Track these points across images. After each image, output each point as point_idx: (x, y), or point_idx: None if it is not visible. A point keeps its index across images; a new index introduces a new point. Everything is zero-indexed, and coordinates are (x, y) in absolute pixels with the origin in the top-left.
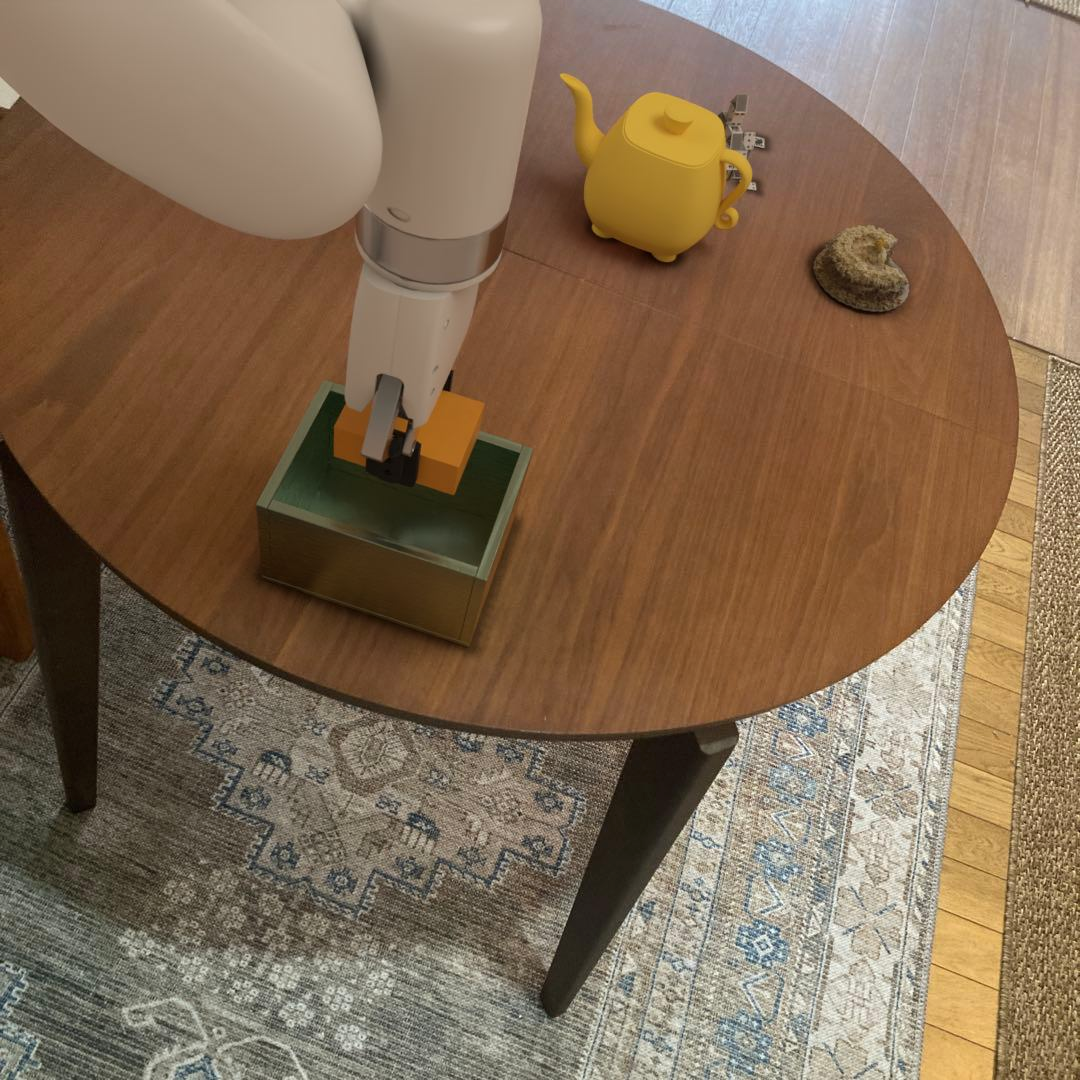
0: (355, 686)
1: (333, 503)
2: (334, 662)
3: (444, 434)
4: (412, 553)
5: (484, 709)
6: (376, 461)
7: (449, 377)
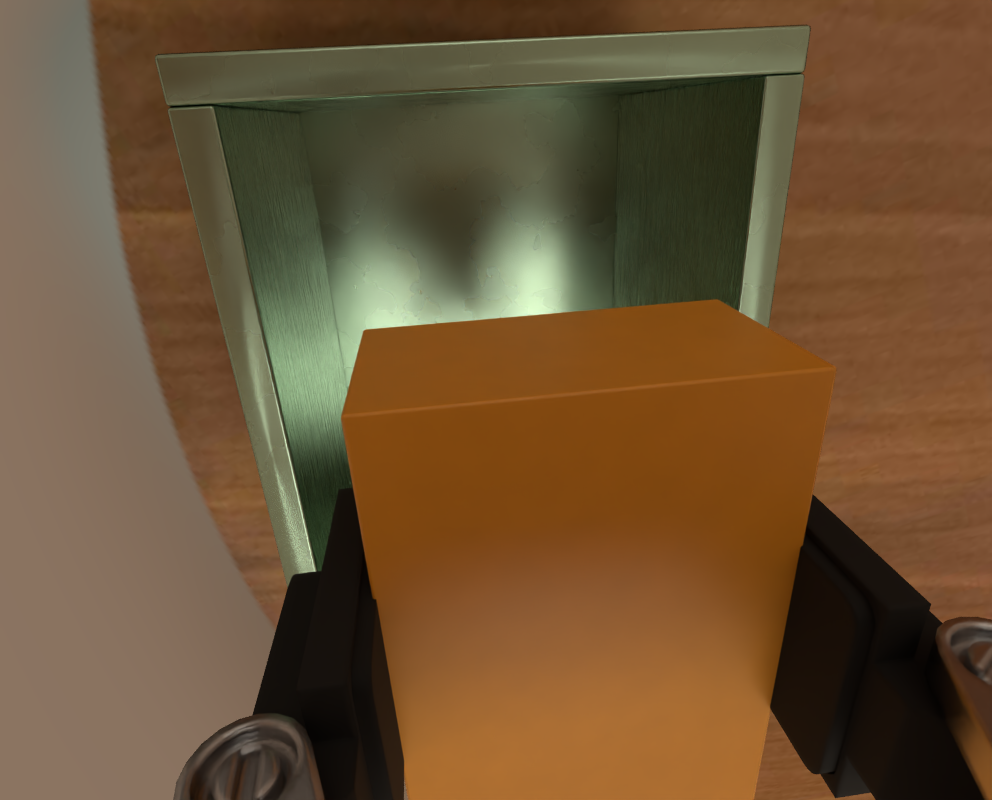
0: (167, 377)
1: (526, 153)
2: (187, 321)
3: (546, 785)
4: (286, 559)
5: (259, 566)
6: (275, 645)
7: (827, 780)
